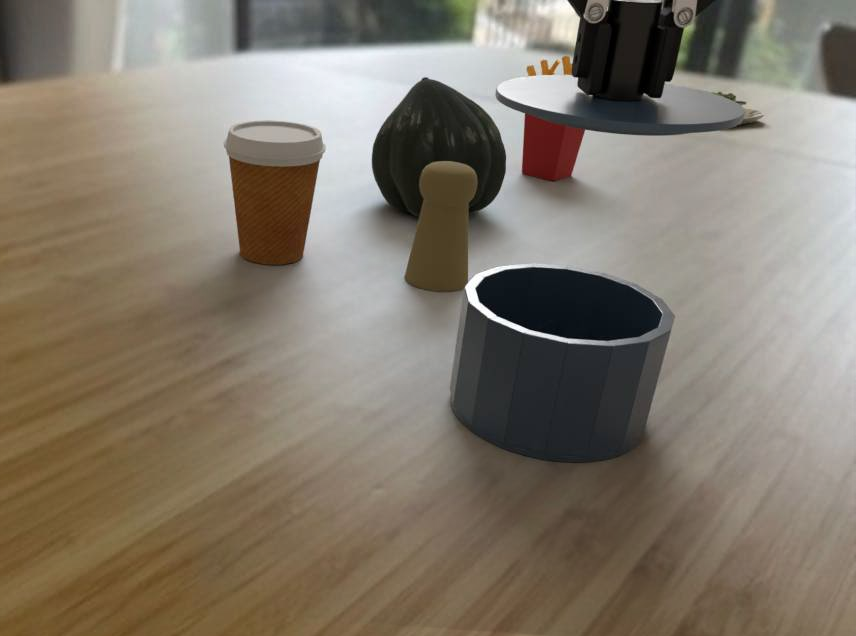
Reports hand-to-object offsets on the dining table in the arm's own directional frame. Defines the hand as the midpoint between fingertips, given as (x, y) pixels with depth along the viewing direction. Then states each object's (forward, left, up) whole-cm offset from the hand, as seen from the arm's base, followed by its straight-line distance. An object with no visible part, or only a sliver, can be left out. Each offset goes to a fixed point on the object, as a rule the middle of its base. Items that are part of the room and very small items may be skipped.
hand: (618, 89), depth 55 cm
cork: (+7, -23, -22) cm, 32 cm away
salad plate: (-47, -109, -22) cm, 121 cm away
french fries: (-11, -65, -22) cm, 69 cm away
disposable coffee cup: (+23, -27, -22) cm, 41 cm away
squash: (+6, -45, -22) cm, 50 cm away
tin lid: (0, 0, -1) cm, 1 cm away
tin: (+1, +1, -22) cm, 22 cm away
